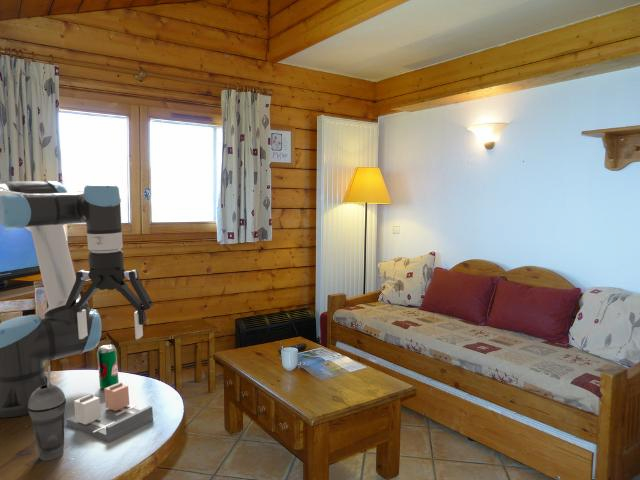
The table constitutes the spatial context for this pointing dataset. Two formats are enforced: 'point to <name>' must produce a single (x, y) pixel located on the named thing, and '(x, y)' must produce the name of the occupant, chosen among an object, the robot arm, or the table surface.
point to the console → (114, 422)
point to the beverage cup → (48, 419)
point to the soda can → (107, 366)
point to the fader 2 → (116, 396)
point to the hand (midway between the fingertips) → (111, 337)
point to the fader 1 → (87, 409)
